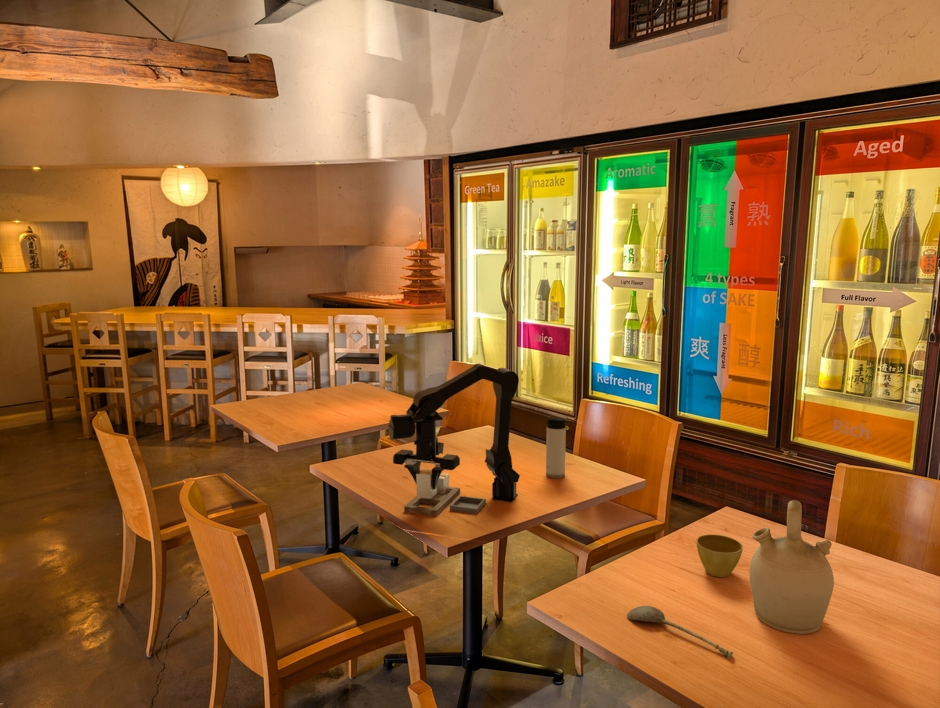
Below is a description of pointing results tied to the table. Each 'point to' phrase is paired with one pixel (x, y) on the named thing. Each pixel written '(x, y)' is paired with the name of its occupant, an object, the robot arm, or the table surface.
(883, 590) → the table surface
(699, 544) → the flower pot
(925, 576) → the table surface
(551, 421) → the travel mug
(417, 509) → the grey flat frame
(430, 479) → the block
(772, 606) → the jug
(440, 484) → the block
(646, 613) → the soupspoon
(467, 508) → the grey tray
